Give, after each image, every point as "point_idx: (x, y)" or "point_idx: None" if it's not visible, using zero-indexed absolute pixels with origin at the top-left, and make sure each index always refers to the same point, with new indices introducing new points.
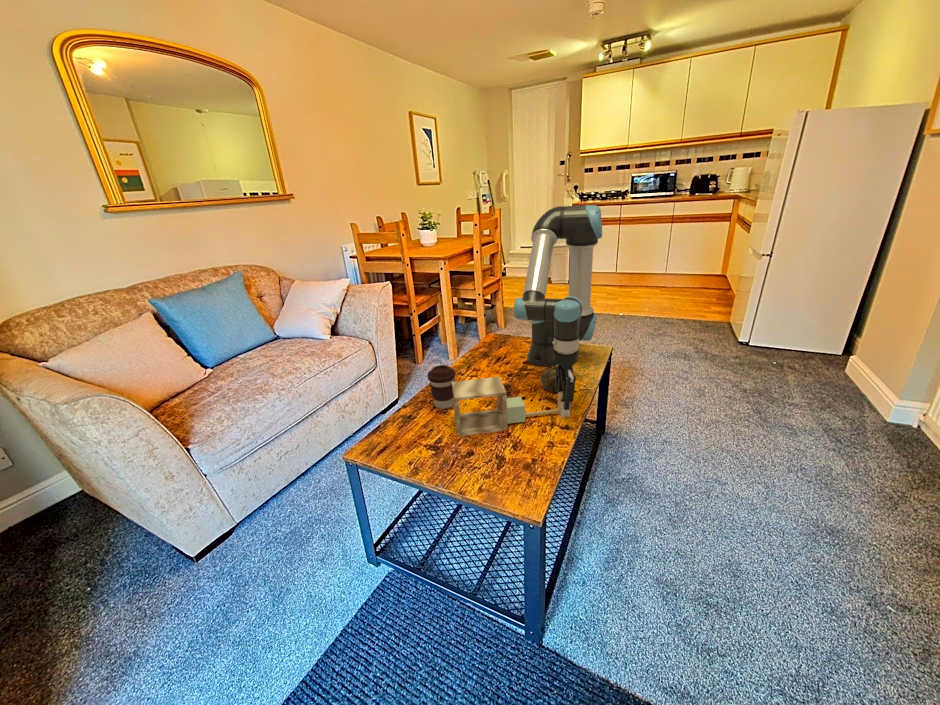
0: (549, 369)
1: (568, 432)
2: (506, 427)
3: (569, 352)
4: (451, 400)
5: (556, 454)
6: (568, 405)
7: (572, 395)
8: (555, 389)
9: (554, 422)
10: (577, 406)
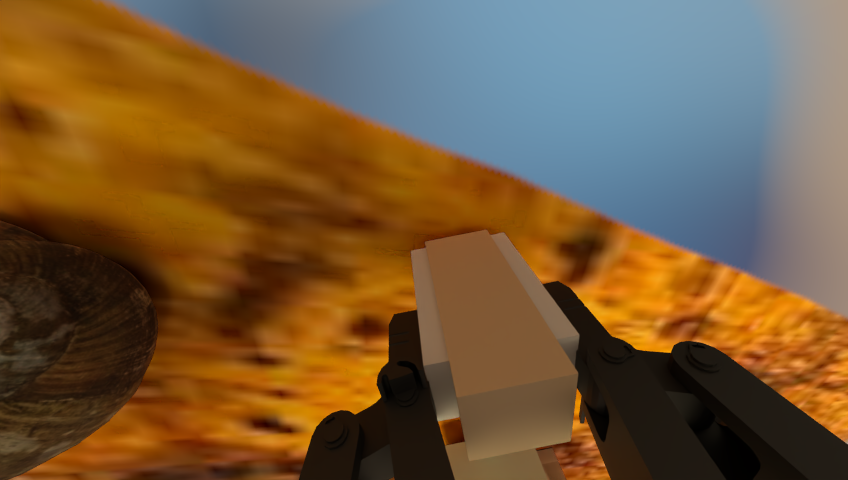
0: None
1: (631, 246)
2: (564, 477)
3: None
4: None
5: (760, 310)
6: (588, 319)
7: (839, 458)
8: (139, 318)
9: None
10: (323, 140)
